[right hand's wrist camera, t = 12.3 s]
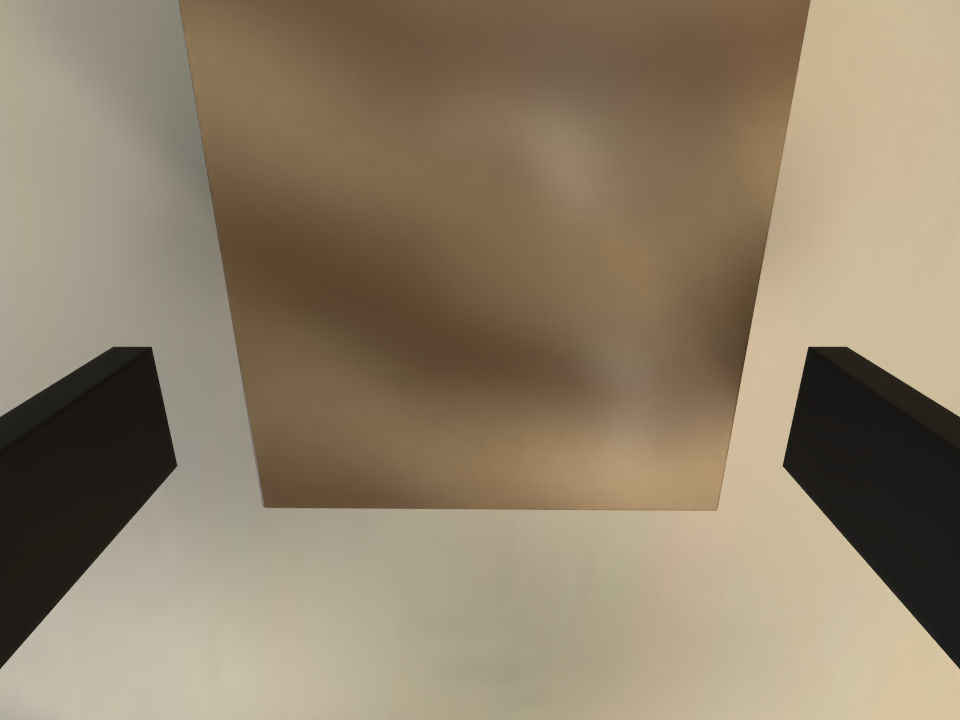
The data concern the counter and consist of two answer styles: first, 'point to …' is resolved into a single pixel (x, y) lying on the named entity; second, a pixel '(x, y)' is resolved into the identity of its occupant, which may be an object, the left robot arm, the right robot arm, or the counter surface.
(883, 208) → the counter surface
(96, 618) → the counter surface
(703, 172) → the cabinet
